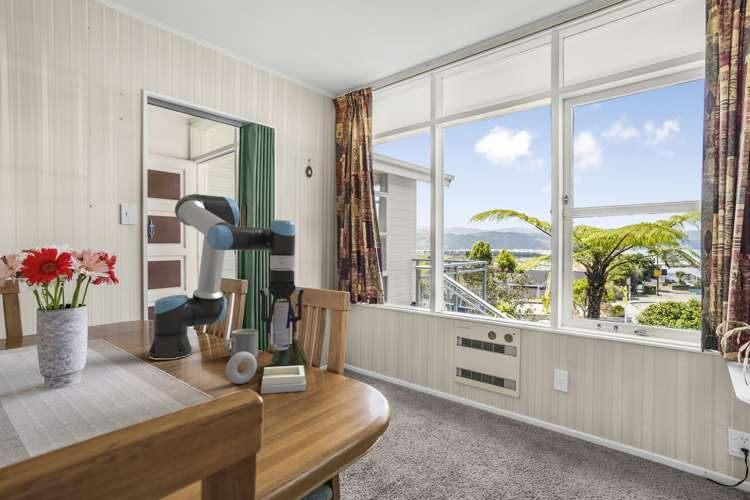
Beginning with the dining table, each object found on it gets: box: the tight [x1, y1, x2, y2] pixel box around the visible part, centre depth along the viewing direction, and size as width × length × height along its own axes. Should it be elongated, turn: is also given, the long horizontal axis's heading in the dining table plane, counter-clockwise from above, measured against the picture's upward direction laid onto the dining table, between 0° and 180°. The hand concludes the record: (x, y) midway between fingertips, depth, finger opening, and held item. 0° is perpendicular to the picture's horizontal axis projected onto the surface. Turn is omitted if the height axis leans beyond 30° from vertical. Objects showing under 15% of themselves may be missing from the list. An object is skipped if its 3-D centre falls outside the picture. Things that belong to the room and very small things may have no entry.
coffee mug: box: [223, 328, 259, 358], centre depth 151 cm, size 13×10×10 cm
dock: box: [260, 365, 307, 394], centre depth 123 cm, size 16×13×4 cm
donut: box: [225, 352, 258, 385], centre depth 122 cm, size 10×4×10 cm, turn 135°
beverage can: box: [272, 300, 290, 350], centre depth 122 cm, size 5×5×15 cm
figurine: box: [271, 313, 309, 367], centre depth 141 cm, size 14×14×20 cm
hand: (281, 343), depth 122 cm, fingers closed on beverage can, 5 cm apart
